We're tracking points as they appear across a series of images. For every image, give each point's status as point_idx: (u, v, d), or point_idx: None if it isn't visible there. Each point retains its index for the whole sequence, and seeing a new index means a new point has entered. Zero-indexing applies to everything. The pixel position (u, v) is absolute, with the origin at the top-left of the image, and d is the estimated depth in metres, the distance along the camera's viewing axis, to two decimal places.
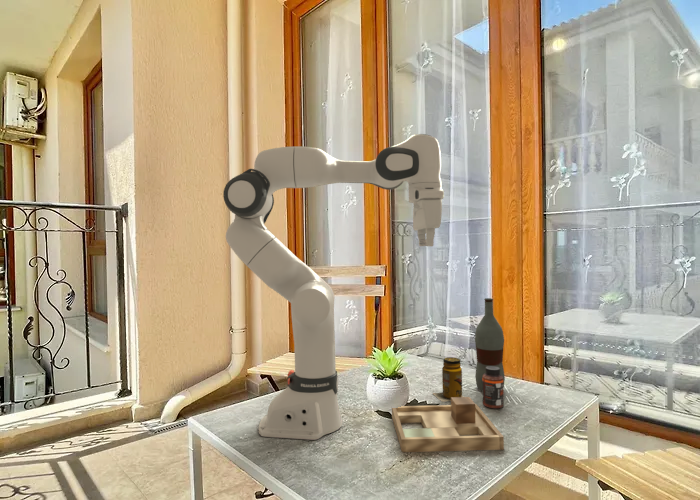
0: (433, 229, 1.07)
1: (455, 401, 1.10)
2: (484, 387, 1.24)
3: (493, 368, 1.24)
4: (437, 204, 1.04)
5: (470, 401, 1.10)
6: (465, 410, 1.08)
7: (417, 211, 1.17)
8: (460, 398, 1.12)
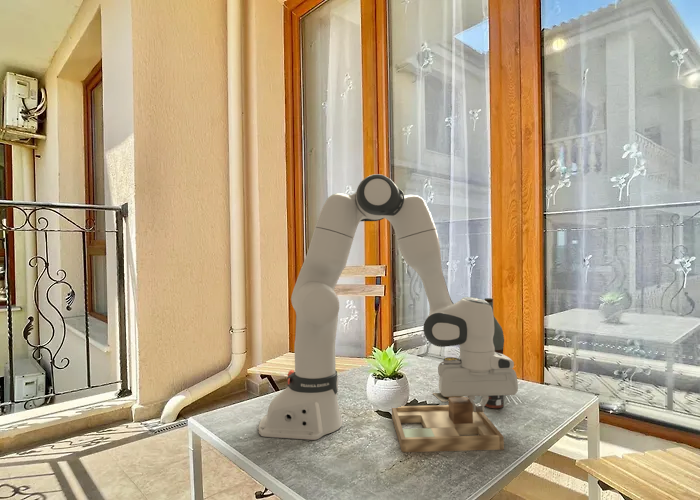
0: None
1: (452, 401, 1.10)
2: None
3: None
4: None
5: (467, 401, 1.10)
6: (462, 410, 1.08)
7: (466, 376, 1.09)
8: (457, 398, 1.12)
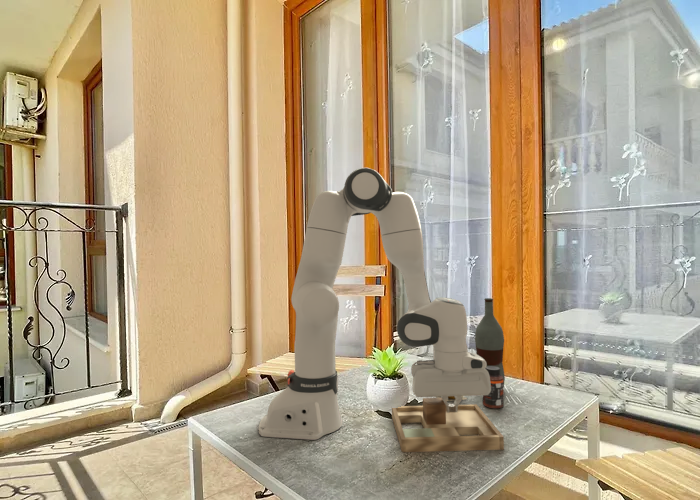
0: None
1: (426, 402, 1.10)
2: None
3: (493, 368, 1.24)
4: None
5: (441, 402, 1.10)
6: (435, 410, 1.08)
7: (439, 377, 1.09)
8: (431, 399, 1.12)
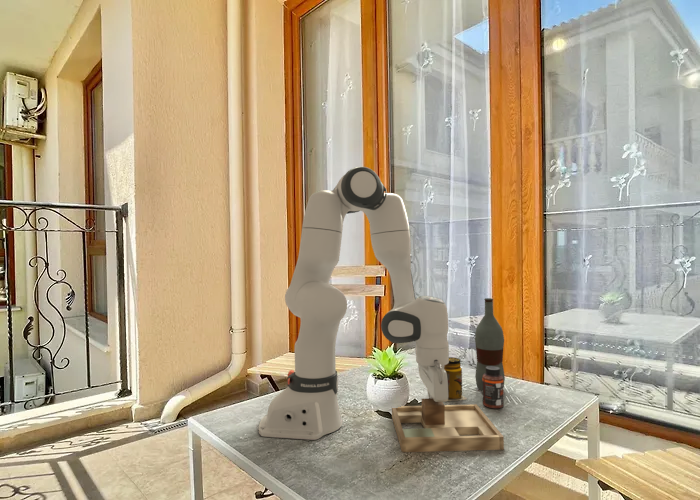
0: None
1: (425, 402, 1.10)
2: (484, 387, 1.24)
3: (493, 368, 1.24)
4: None
5: (440, 402, 1.09)
6: (434, 411, 1.08)
7: None
8: (430, 399, 1.12)
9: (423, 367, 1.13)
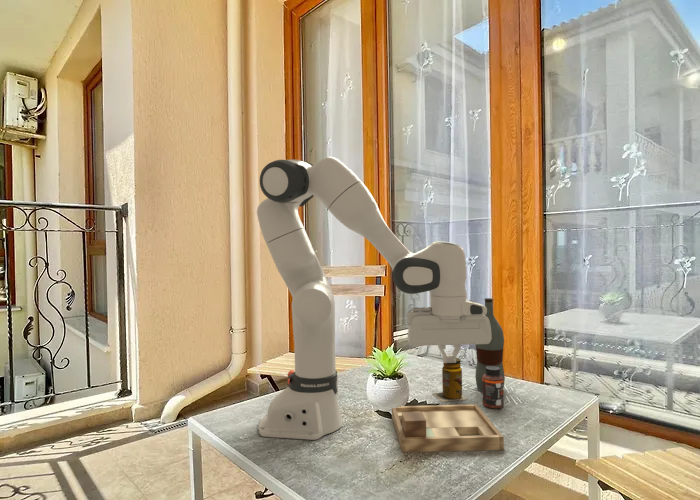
0: None
1: (405, 417, 1.01)
2: (484, 387, 1.24)
3: (493, 368, 1.24)
4: None
5: (421, 417, 1.01)
6: (415, 427, 0.99)
7: (436, 324, 1.02)
8: (411, 414, 1.03)
9: None
